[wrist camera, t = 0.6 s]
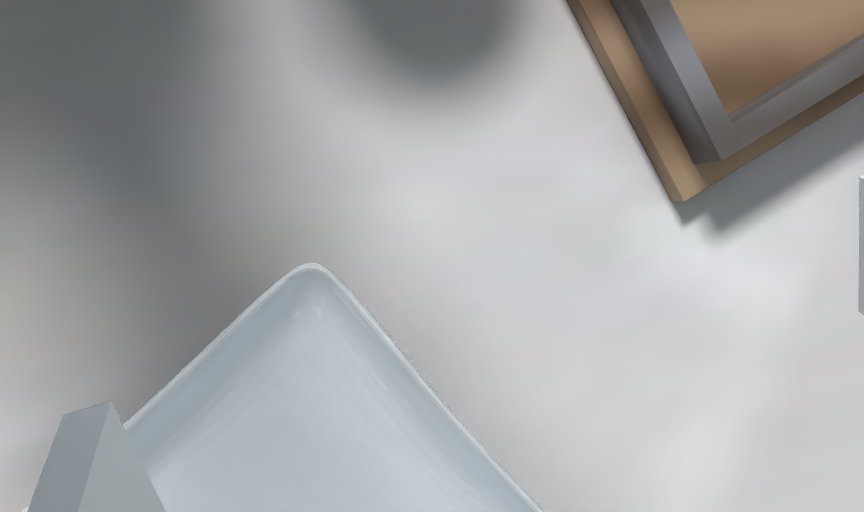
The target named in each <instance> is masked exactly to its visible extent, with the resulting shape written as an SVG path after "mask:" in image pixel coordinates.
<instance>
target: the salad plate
mask: <svg viewBox="0 0 864 512" xmlns="http://www.w3.org/2000/svg"><path fill="white" fill-rule="evenodd" d="M123 426H124V428H125V430H126V432H127V434H128V436H129V438H130V440H131V442H132V444H133V446H134V448H135V450H136V452H137V454H138V456H139V458H140V460H141V462H142V464H143V466H144V468H145V470H146V472H147V474H148V476H149V478H150V480H151V482H152V484H153V486H154V488H155V490H156V492H157V494H158V496H159V498H160V500H161V502H162V504H163V506H164V508H165V510H166V512H544V511H543V510H542V509H541V508H540V506H539V505H538V504H537V503H536V502H535V501H534V500H533V499H532V498H531V497H530V496H529V495H528V494H527V493H526V492H525V491H524V490H523V489H522V488H521V487H520V486H519V484H518V483H517V482H516V481H515V480H514V479H513V478H512V477H511V476H510V475H509V474H508V473H507V472H506V471H505V470H504V469H503V467H502V466H501V465H500V464H499V463H498V462H497V461H496V460H495V459H494V458H493V457H492V456H491V455H490V454H489V453H488V451H487V450H486V449H485V448H484V447H483V446H482V445H481V444H480V443H479V442H478V441H477V440H476V439H475V437H474V436H473V435H472V434H471V433H470V432H469V431H468V430H467V428H466V427H465V426H464V425H463V424H462V423H461V422H460V420H459V419H458V418H457V417H456V416H455V415H454V414H453V413H452V411H451V410H450V409H449V408H448V407H447V406H446V405H445V403H444V402H443V401H442V400H441V399H440V398H439V397H438V395H437V394H436V393H435V392H434V391H433V390H432V388H431V387H430V386H429V385H428V384H427V382H426V381H425V380H424V379H423V378H422V376H421V375H420V374H419V373H418V372H417V370H416V369H415V368H414V367H413V365H412V364H411V363H410V362H409V360H408V359H407V358H406V357H405V355H404V354H403V353H402V352H401V350H400V349H399V348H398V347H397V345H396V344H395V343H394V342H393V340H392V339H391V338H390V337H389V335H388V334H387V333H386V332H385V330H384V329H383V328H382V327H381V325H380V324H379V323H378V322H377V320H376V319H375V318H374V317H373V316H372V315H371V313H370V312H369V311H368V310H367V309H366V308H365V306H364V305H363V304H362V303H361V302H360V301H359V300H358V299H357V298H356V297H355V295H354V294H353V293H352V292H351V291H350V290H349V289H348V288H347V287H346V286H345V285H344V284H343V282H342V281H341V280H340V279H339V278H338V277H337V276H336V275H334V274H333V273H332V272H331V271H330V270H329V269H327V268H326V267H324V266H322V265H320V264H318V263H315V262H309V263H306V264H303V265H300V266H298V267H296V268H295V269H293V270H292V271H290V272H289V273H287V274H286V275H284V276H283V277H282V278H281V279H279V280H278V281H277V282H276V283H275V284H273V285H272V286H271V287H270V288H269V289H268V290H267V291H265V292H264V293H263V294H262V295H261V296H259V297H258V298H257V299H256V300H255V301H254V302H253V303H252V304H250V305H249V306H248V307H247V308H246V309H245V310H244V311H243V312H242V313H241V314H240V315H239V316H238V317H237V318H236V319H235V320H234V321H233V322H232V323H231V324H229V325H228V326H227V327H226V328H225V329H224V330H223V331H222V332H221V333H220V334H219V335H218V336H217V337H216V338H215V339H214V340H213V341H212V342H211V343H210V344H209V345H207V346H206V347H205V348H204V349H203V350H202V351H201V352H200V353H199V354H198V355H197V356H196V357H195V358H194V359H193V360H192V361H191V362H190V363H189V364H187V365H186V366H185V367H184V368H183V369H182V370H181V371H180V372H179V373H178V374H177V375H176V376H175V377H174V378H173V379H172V380H171V381H169V382H168V383H167V384H166V385H165V386H164V387H163V388H162V389H161V390H160V391H159V392H158V393H157V394H155V395H154V396H153V397H152V398H151V399H150V400H149V401H148V402H147V403H146V404H145V405H144V406H143V407H142V408H141V409H140V410H139V411H137V412H136V413H135V414H134V415H133V416H132V417H131V418H130V419H128V420H127V421H126V422H125V423H124V424H123ZM28 508H29V505H28V506H27V507H26V508H24V509H23V510H22V511H21V512H27V511H28Z"/></svg>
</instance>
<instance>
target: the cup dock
mask: <svg viewBox="0 0 864 512" xmlns="http://www.w3.org/2000/svg"><path fill="white" fill-rule="evenodd" d="M567 1H568V3H569V5H570V7H571V9H572V11H573V13H574V15H575V17H576V19H577V21H578V23H579V24H580V26H581V28H582V30H583V32H584V34H585V36H586V38H587V40H588V42H589V44H590V46H591V47H592V49H593V51H594V53H595V55H596V57H597V59H598V61H599V63H600V65H601V67H602V68H603V70H604V72H605V74H606V76H607V78H608V80H609V82H610V84H611V86H612V88H613V90H614V91H615V93H616V95H617V97H618V99H619V101H620V103H621V105H622V107H623V109H624V111H625V112H626V114H627V116H628V118H629V120H630V122H631V124H632V126H633V128H634V130H635V132H636V134H637V135H638V137H639V139H640V141H641V143H642V145H643V147H644V149H645V151H646V153H647V155H648V156H649V158H650V160H651V162H652V164H653V166H654V168H655V170H656V172H657V174H658V176H659V178H660V179H661V181H662V183H663V185H664V187H665V189H666V191H667V193H668V195H669V197H670V199H671V201H672V202H685V201H686V200H688V199H690V198H691V197H693V196H694V195H696V194H698V193H699V192H701V191H703V190H704V189H706V188H707V187H709V186H711V185H712V184H714V183H716V182H717V181H719V180H720V179H722V178H724V177H725V176H727V175H729V174H730V173H732V172H733V171H735V170H737V169H738V168H740V167H742V166H743V165H745V164H746V163H748V162H750V161H751V160H753V159H755V158H756V157H758V156H759V155H761V154H763V153H764V152H766V151H768V150H769V149H771V148H772V147H774V146H776V145H777V144H779V143H781V142H782V141H784V140H785V139H787V138H789V137H790V136H792V135H794V134H795V133H797V132H798V131H800V130H802V129H803V128H805V127H806V126H808V125H810V124H811V123H813V122H815V121H816V120H818V119H819V118H821V117H823V116H824V115H826V114H828V113H829V112H831V111H832V110H834V109H836V108H837V107H839V106H841V105H842V104H844V103H845V102H847V101H849V100H850V99H852V98H854V97H855V96H857V95H858V94H860V93H862V92H863V91H864V0H567Z"/></svg>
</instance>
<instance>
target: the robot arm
mask: <svg viewBox="0 0 864 512" xmlns="http://www.w3.org/2000/svg"><path fill="white" fill-rule="evenodd" d="M858 311H859V312H861V313H862V314H863V315H864V176H860V178H859V310H858ZM27 512H166V510H165V508H164V506H163V504H162V502H161V500H160V498H159V496H158V494H157V492H156V490H155V488H154V486H153V484H152V482H151V480H150V478H149V476H148V474H147V472H146V470H145V468H144V466H143V464H142V462H141V460H140V458H139V456H138V454H137V452H136V450H135V448H134V446H133V444H132V442H131V440H130V438H129V436H128V434H127V432H126V430H125V428H124V426H123V424H122V422H121V420H120V418H119V416H118V414H117V412H116V410H115V408H114V406H113V404H112V402H111V401H109V402H105V403H102V404H99V405H95V406H92V407H89V408H85V409H82V410H79V411H75V412H72V413H69V414H65V415H64V416H63V418H62V421H61V423H60V426H59V429H58V431H57V434H56V437H55V439H54V442H53V445H52V447H51V450H50V453H49V455H48V458H47V460H46V463H45V466H44V468H43V471H42V474H41V476H40V479H39V482H38V484H37V487H36V490H35V492H34V495H33V497H32V500H31V503H30V505H29V508H28V511H27Z"/></svg>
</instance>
